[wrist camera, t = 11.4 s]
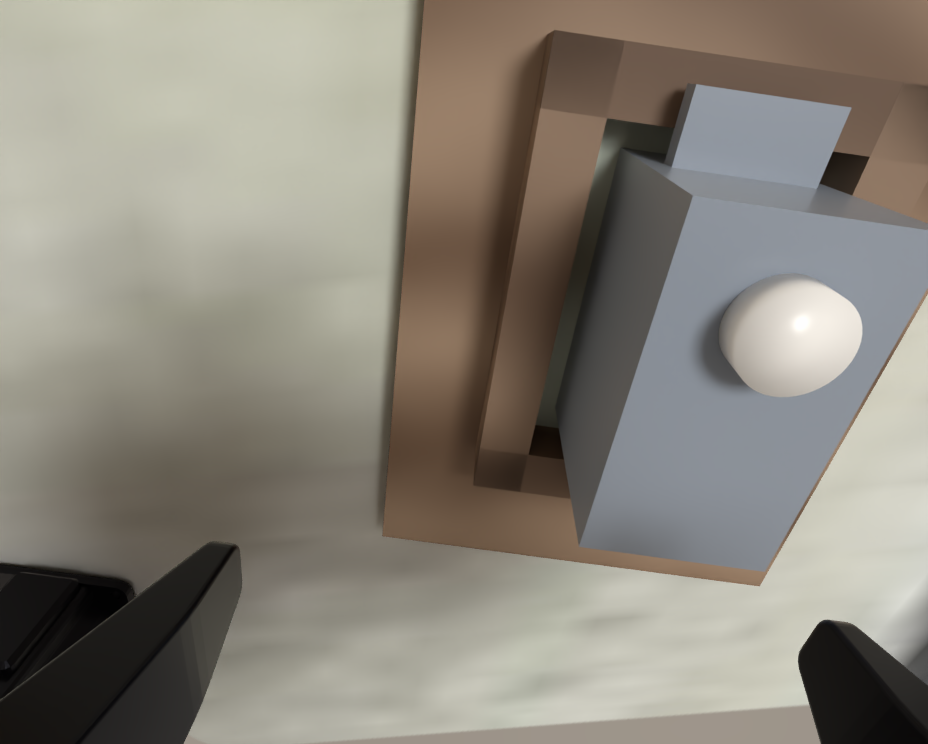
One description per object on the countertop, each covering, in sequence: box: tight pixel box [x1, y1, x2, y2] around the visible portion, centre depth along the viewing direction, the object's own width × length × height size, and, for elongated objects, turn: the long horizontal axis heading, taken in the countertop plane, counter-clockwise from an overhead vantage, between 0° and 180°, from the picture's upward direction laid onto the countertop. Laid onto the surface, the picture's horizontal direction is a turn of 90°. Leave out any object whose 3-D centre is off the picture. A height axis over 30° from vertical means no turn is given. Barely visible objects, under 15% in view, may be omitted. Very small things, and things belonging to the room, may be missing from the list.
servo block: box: [555, 83, 928, 572], centre depth 13 cm, size 11×4×7 cm, turn 173°
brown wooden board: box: [382, 0, 928, 586], centre depth 16 cm, size 22×15×3 cm
